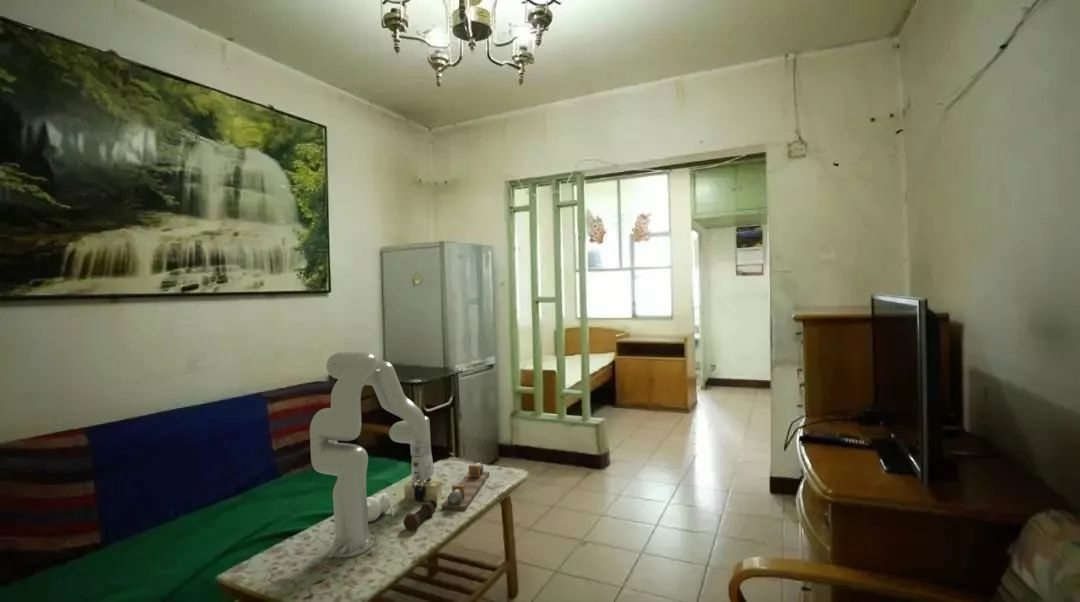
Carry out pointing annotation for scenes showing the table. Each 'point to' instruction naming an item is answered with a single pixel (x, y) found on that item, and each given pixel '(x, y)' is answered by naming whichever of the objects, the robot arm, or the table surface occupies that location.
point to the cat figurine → (378, 506)
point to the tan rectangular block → (424, 490)
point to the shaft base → (466, 489)
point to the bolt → (419, 515)
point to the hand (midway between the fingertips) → (423, 495)
